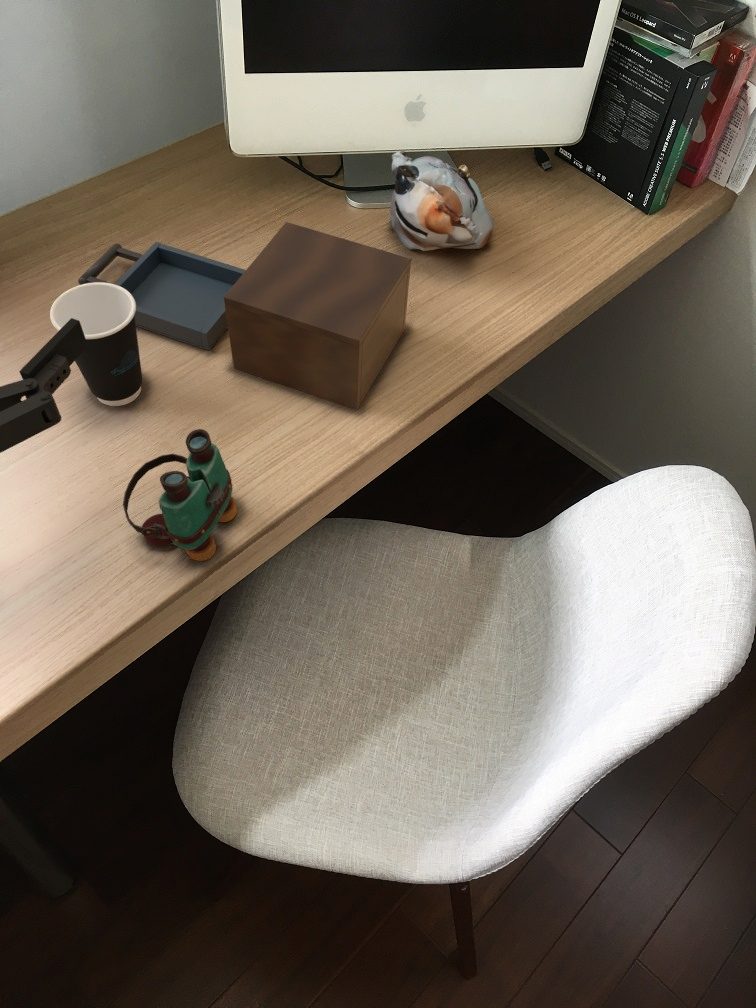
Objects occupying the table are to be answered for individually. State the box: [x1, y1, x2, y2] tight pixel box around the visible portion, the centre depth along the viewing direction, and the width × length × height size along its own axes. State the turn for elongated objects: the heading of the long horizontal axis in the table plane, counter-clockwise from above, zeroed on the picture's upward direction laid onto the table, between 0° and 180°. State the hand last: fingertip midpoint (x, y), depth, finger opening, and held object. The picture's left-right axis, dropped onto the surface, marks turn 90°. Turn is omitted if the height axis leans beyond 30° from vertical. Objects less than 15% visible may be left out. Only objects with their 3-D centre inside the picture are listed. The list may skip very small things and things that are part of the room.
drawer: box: [77, 241, 247, 351], centre depth 91 cm, size 18×12×2 cm, turn 68°
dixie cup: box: [49, 282, 143, 407], centre depth 79 cm, size 8×8×11 cm
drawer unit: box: [224, 221, 412, 411], centre depth 85 cm, size 15×14×10 cm
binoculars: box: [122, 428, 238, 562], centre depth 70 cm, size 9×11×10 cm
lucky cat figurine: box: [389, 150, 495, 252], centre depth 96 cm, size 15×12×14 cm
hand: (9, 307), depth 64 cm, fingers open, 13 cm apart
